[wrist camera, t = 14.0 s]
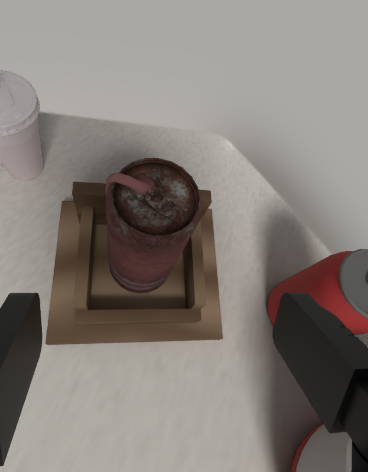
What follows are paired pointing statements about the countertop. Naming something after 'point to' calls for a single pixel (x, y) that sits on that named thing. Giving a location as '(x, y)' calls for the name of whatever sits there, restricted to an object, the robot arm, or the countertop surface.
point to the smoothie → (19, 128)
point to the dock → (119, 299)
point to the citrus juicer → (321, 452)
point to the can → (149, 221)
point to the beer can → (332, 288)
